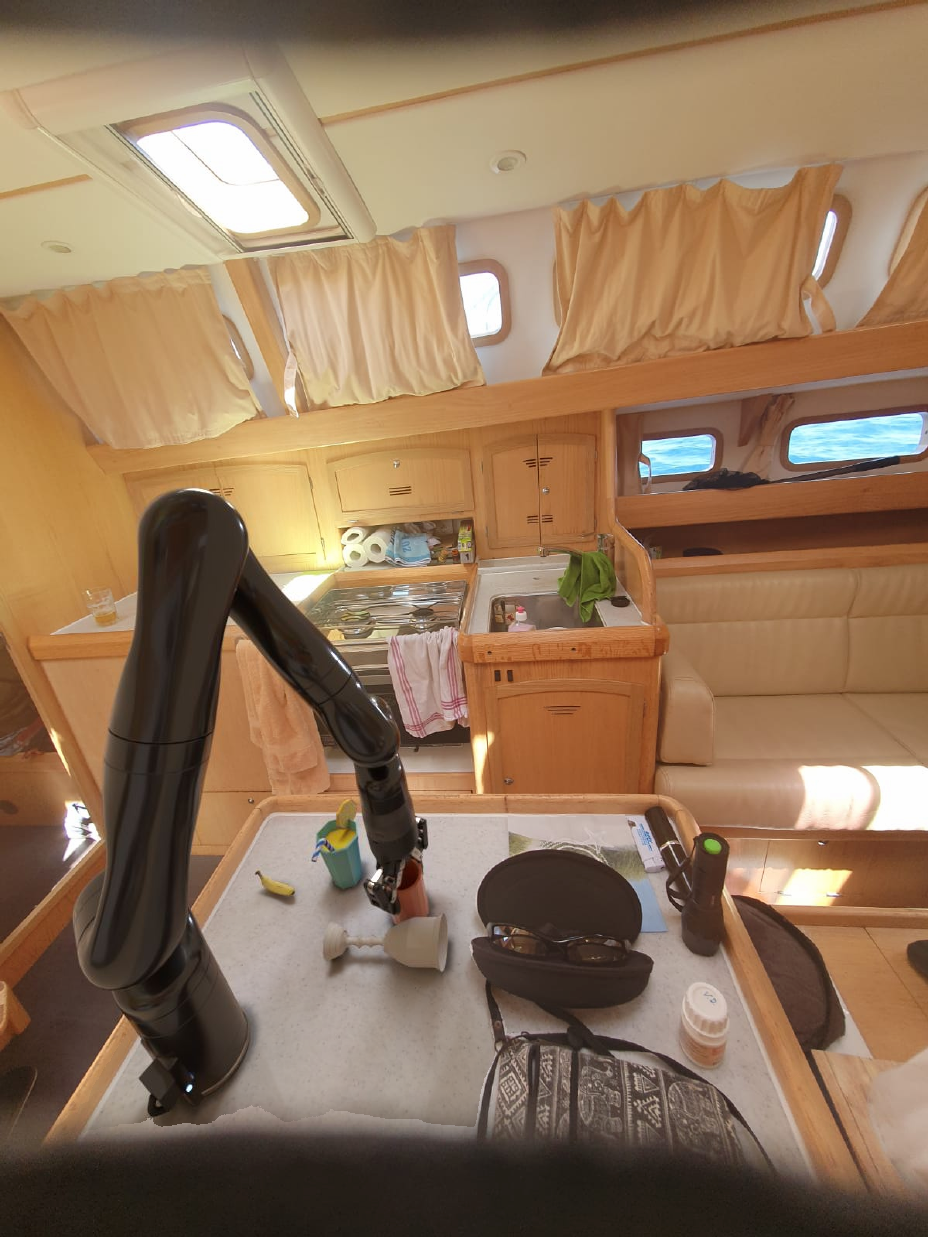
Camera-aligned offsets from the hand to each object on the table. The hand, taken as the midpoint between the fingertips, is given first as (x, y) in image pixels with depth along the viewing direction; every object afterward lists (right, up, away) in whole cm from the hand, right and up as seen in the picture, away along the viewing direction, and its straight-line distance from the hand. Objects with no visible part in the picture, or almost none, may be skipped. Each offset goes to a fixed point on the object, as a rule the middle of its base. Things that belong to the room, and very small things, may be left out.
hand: (406, 892), depth 74 cm
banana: (-24, -5, +7) cm, 25 cm away
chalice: (-12, -5, -4) cm, 13 cm away
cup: (-12, -3, +8) cm, 15 cm away
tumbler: (0, -4, +2) cm, 5 cm away
